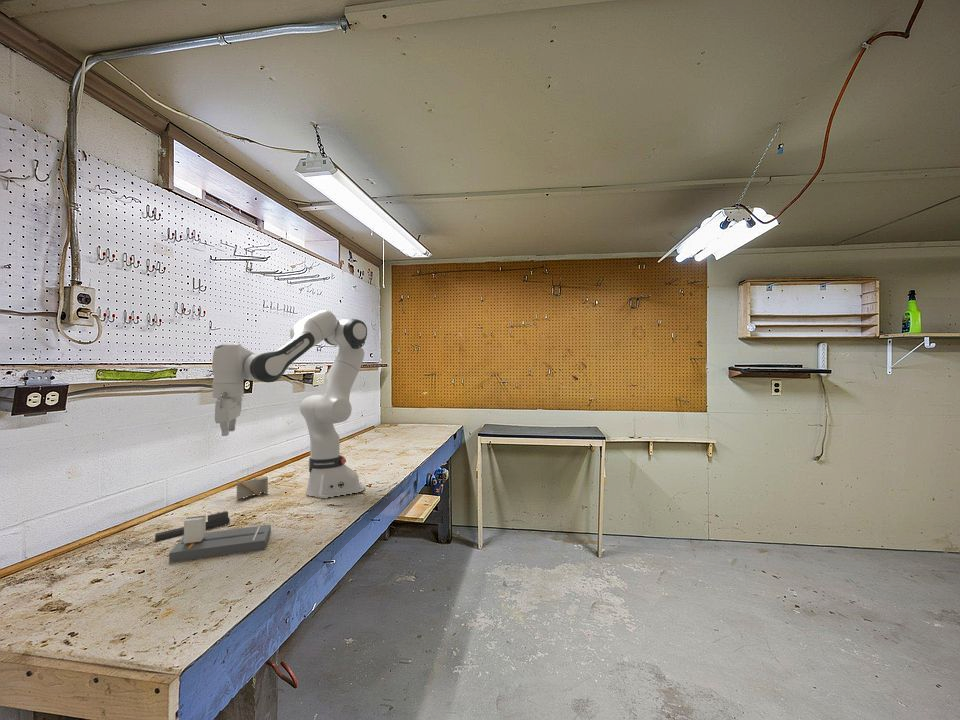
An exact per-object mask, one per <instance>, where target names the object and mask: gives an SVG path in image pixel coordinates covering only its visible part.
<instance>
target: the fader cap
mask: <svg viewBox="0 0 960 720" xmlns="http://www.w3.org/2000/svg"><path fill="white" fill-rule="evenodd" d="M206 516H207V515H206V513H205V514H196V515H188V516H187V517H186V518H185V519H184V521H183V527H184V535H183V537H184V543H192V542H200V541H202V540H203V538H204V537H205V535H206V530H207V529H206V522H207V521H206V519H207V518H206Z"/></svg>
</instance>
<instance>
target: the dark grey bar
mask: <svg viewBox="0 0 960 720" xmlns="http://www.w3.org/2000/svg"><path fill="white" fill-rule="evenodd" d="M230 520H231V519H230V517H229V512H228V510H226V511H225V510H224V511H221V512H217V513H211V514H208V515H207V521H206V530H209V529H210V530H211V529H213V528H214V529H215V528H218V527H222V526H225V524H226V525H230V524H231V523H230ZM228 523H229V524H228ZM221 525H222V526H221ZM217 526H218V527H217ZM154 534H155V535H154V538H155V541H156V542H159V541H162V540H166V539H171V538H174V537H179V536H180V537H181V536H184V526H183V527H178V528H174V529H169V530H166V531H161V532H157V533H154Z"/></svg>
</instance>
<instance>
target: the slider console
mask: <svg viewBox="0 0 960 720" xmlns="http://www.w3.org/2000/svg"><path fill="white" fill-rule="evenodd" d="M271 528H272V525H271V524H265V525H258V526H257V525H256V526H250V527H249V526H248V527H240V528H233V529H224V530H223V529H222V530H216V531H209V532H206V535H205V537H204V538H203V540H202V541H200V542H192V543H184V536H182V537H181V538H180V540H179V541H178V542H177V543H176V545H175V546H174V547H173V548H172V549H171V551H170V552H169V553H168V556H169V557H168V558H169V560H168V563H176V562H183V561H184V562H185V561H191V560H198V559H205V558H213V557H219V556H227V555H228V556H229V555H236V554H241V553H249V552H257V550H258V551H265V550H266V547H267V544H268V542H269V539H270V537H271V534H270V533H272V532H271V531H272V529H271ZM264 549H265V550H264Z"/></svg>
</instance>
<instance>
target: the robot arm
mask: <svg viewBox="0 0 960 720" xmlns="http://www.w3.org/2000/svg"><path fill="white" fill-rule="evenodd" d="M289 336H290V339H291V340H289V341H288V342H286V344H284V345H282V346H281V347H279V349H277V350H274V351H270V352H269V351H267V352H259V353H257V352H255V351H252V350H250V349H248V348H246V347H244V346H243V345H242V344H240V342H233V343H232V342H231V343H225V344H223V343H222V344H220V345H217V346H216V347H214V350H213V354H212V361H211V362H212V363H211V364H212V366H211V367H212V374H213V380H212V393H211V394H212V399H216V400H215V405H214V407H215V408H214V422H215V424H219V428H220V430H221V436H222V437H228V436H229V434H230V432H235V430H236V423H237V418H239V416H241V413H242V404H243V403H242V402H243V397H244V395H245V389H244V380H248V381H252V382H253V381H254V382H261V383H274V382H276V381H278V380H279V379H280V378H282V376H283V375H284V374H285V372H286V370H287V369H288V368H289V366H291V364H293V363H294V362H295V361H297V360H298V359H299V358H301V357H302V355H304V354H306V353H307V352H308V351H309V350H310V349H311V348H313V347H315V346H317V345H318V344H320V343H322V342H323V341H324V342H325V343H326V344H328V345H331V346H335V347H337V346H338V352H337V355H336V357H335V358H334V360H333V362H332V364H331V366H330V368H329V370H328V372H327V374H326V375H325V382H326V388H325V389H326V390H325V392H324V394H313V395H309V396H307V397H305V398H304V399H303V400H302V401H301V402H300V404H299V405H300V406H299V411H300V414H301V415H302V417H303V419H305V422H306V425H307V426H306V427H307V431H308V434H309V440H310V441H309V442H310V445H309V446H310V448H309V449H310V450H309V451H310V453H309V454H310V457H309V459H308V472H309V477H308V483H307V488H306V491H305V495H306V494H307V495H306V496H308V495H309V496H308V497H311V496H315V497H314V498H319V497H320V498H319V499H322V498H325V499H329V498H328V497H331V498H335V497H334V496H338V497H341V496H340V495H344V496H347V495H346V494H350V495H353V494H352V493H357V492H361V491H363V490H364V491H365V489H364V487H365V484H364V483H363V482H360V479H359V476H358V473H357V471H356V470H354V469H352V468H351V467H349V466H347V465H346V463H347V459H346V458H345V457H344V455H340V443H341V441H340V435H339V433H338V432H337V431H336V429H335V426H334V424H339V423H344V422H346V421H347V420H349V418H350V416H351V415H352V410H353V409H352V404H351V402H350V396H351V391H352V388H353V385H354V383H355V380H356V378H357V377H358V375H359V372H360V371H361V367H362V365H363V362H364V359H365V351H364V349H363V347H364V345H365V343H366V340H367V336H368V326H367V325H366V323H365V321H362V320H361V319H357V318H351V319H350V318H345V319H344V318H342V319H337V317H336V315H335V314H334V313H333V312H331V311H330V310H328V309H322V310H318V311H315V312H313V313H312V314H309V315H306V316H305V317H304V318H301V319H300V320H298V321H297V322H296V323H295V324H294V325H293V326H292V327H290V330H289ZM364 491H363V492H364ZM361 493H362V492H361ZM357 494H358V493H357Z"/></svg>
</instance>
